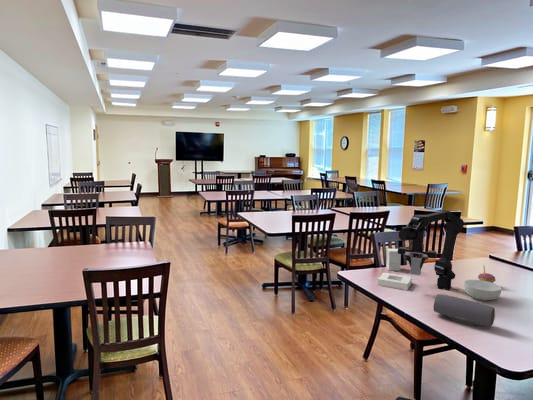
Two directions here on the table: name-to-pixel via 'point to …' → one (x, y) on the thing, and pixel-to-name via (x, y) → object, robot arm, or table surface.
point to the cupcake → (486, 276)
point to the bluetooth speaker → (464, 310)
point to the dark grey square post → (416, 266)
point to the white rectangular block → (393, 259)
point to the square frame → (395, 281)
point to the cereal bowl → (482, 289)
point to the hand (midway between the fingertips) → (416, 268)
